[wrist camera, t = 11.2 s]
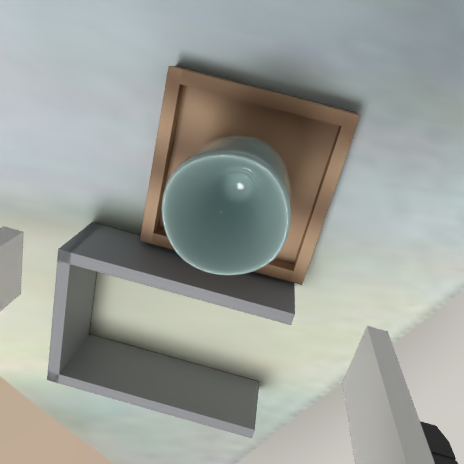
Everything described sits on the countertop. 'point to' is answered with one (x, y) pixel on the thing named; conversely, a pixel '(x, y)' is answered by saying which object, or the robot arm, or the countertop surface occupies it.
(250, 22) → the countertop surface
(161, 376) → the bay
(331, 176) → the tray
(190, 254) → the cup
